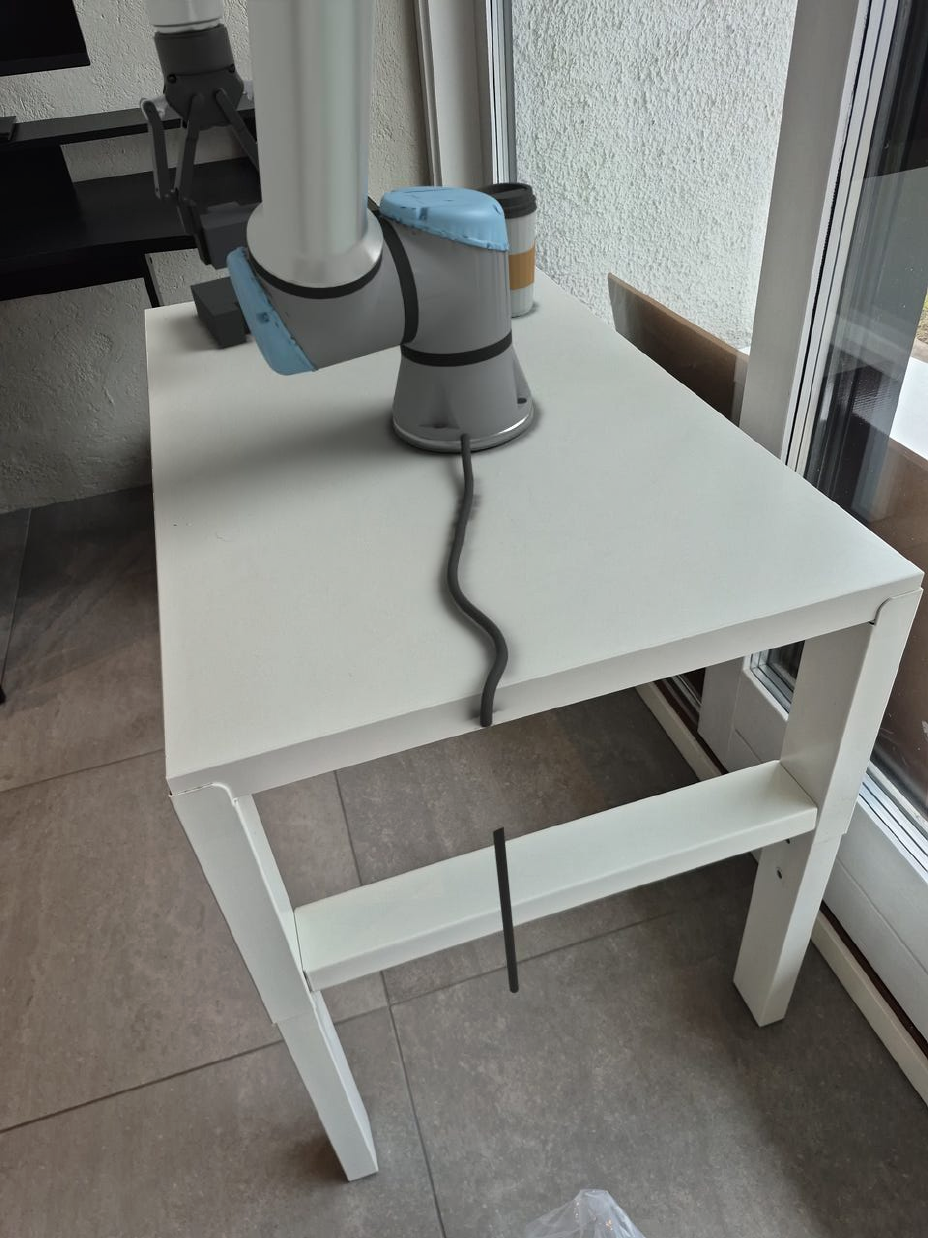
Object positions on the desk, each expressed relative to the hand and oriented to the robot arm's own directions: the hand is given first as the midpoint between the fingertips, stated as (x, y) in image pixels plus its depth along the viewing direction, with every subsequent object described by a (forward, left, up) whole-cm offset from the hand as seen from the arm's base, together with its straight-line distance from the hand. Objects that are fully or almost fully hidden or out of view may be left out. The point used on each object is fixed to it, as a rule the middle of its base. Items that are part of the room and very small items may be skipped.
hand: (242, 252), depth 107 cm
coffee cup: (-4, -33, -14) cm, 36 cm away
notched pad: (+15, -2, -14) cm, 20 cm away
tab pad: (+1, 0, 0) cm, 1 cm away
